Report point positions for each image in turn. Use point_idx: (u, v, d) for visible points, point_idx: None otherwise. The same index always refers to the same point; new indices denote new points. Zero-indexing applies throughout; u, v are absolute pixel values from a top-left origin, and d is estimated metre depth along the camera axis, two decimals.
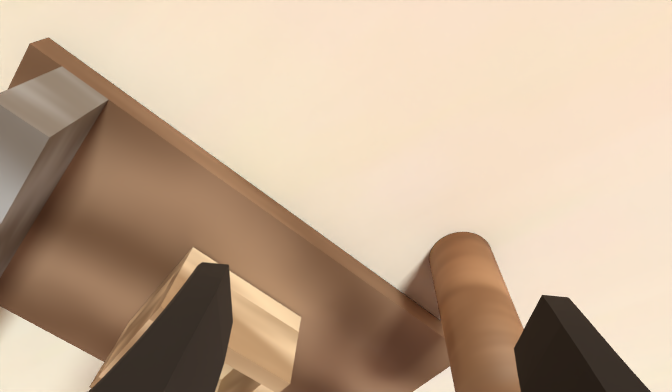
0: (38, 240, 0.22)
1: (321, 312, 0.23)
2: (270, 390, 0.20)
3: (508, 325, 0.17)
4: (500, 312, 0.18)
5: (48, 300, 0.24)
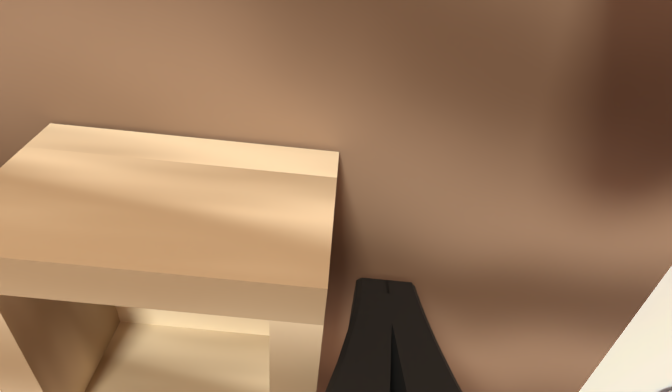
0: None
1: (409, 121, 0.10)
2: (302, 325, 0.08)
3: None
4: None
5: None
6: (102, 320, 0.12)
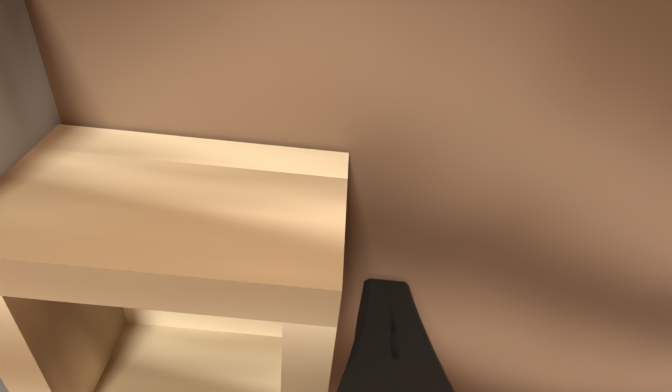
0: None
1: None
2: (315, 328, 0.08)
3: None
4: None
5: None
6: (110, 321, 0.12)
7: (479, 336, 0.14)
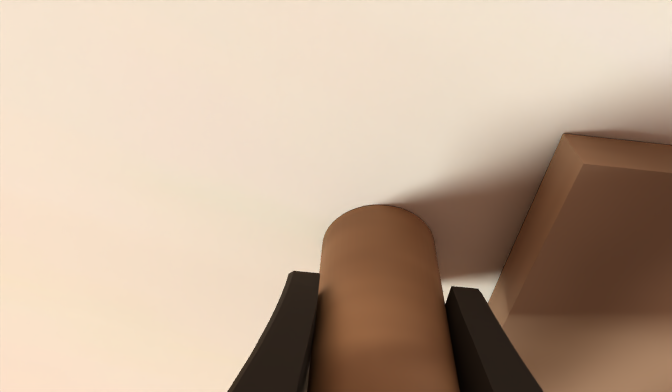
0: None
1: (578, 382, 0.14)
2: None
3: None
4: None
5: None
6: None
7: None
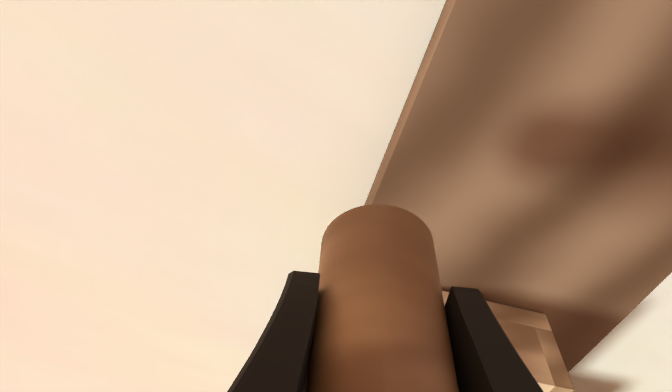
0: None
1: (468, 164, 0.18)
2: None
3: None
4: None
5: None
6: None
7: (594, 245, 0.20)
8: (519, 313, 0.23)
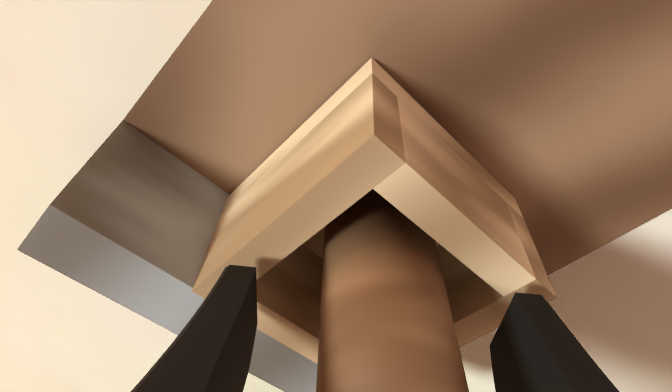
0: None
1: None
2: (394, 175, 0.09)
3: None
4: None
5: None
6: None
7: (657, 92, 0.12)
8: (488, 175, 0.14)
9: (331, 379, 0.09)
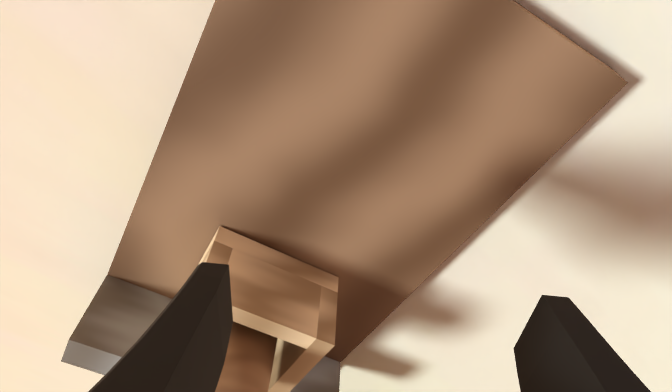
0: None
1: (264, 99, 0.18)
2: None
3: None
4: None
5: None
6: None
7: (383, 213, 0.21)
8: (311, 270, 0.23)
9: None
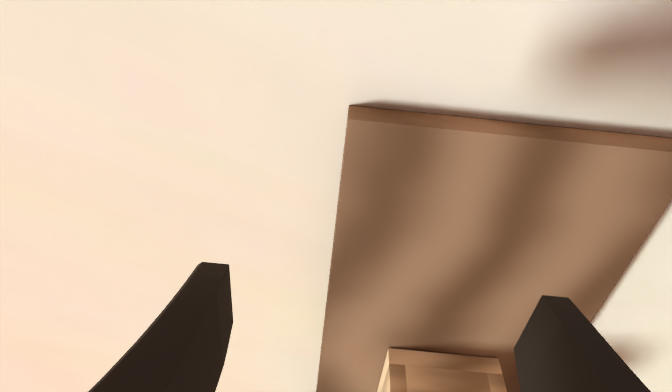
0: None
1: (392, 260, 0.23)
2: None
3: None
4: None
5: None
6: None
7: (518, 304, 0.24)
8: (473, 361, 0.27)
9: None
